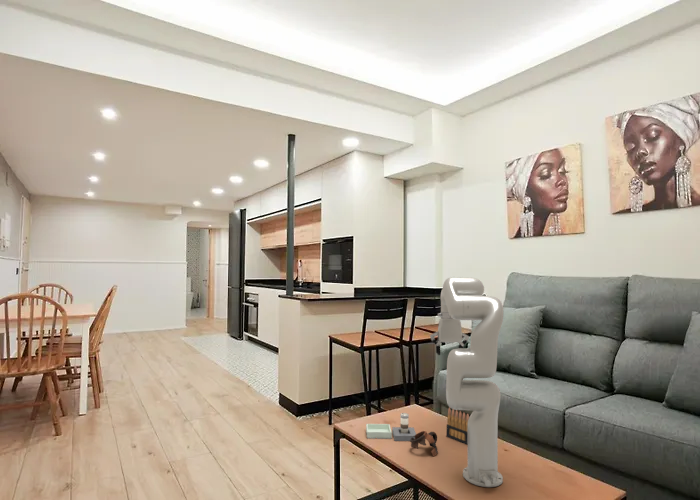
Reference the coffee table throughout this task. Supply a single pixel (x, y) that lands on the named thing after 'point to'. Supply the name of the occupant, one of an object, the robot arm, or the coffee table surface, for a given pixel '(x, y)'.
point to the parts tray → (378, 431)
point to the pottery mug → (421, 440)
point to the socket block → (403, 436)
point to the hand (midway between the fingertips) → (449, 354)
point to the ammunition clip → (457, 426)
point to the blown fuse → (404, 423)
